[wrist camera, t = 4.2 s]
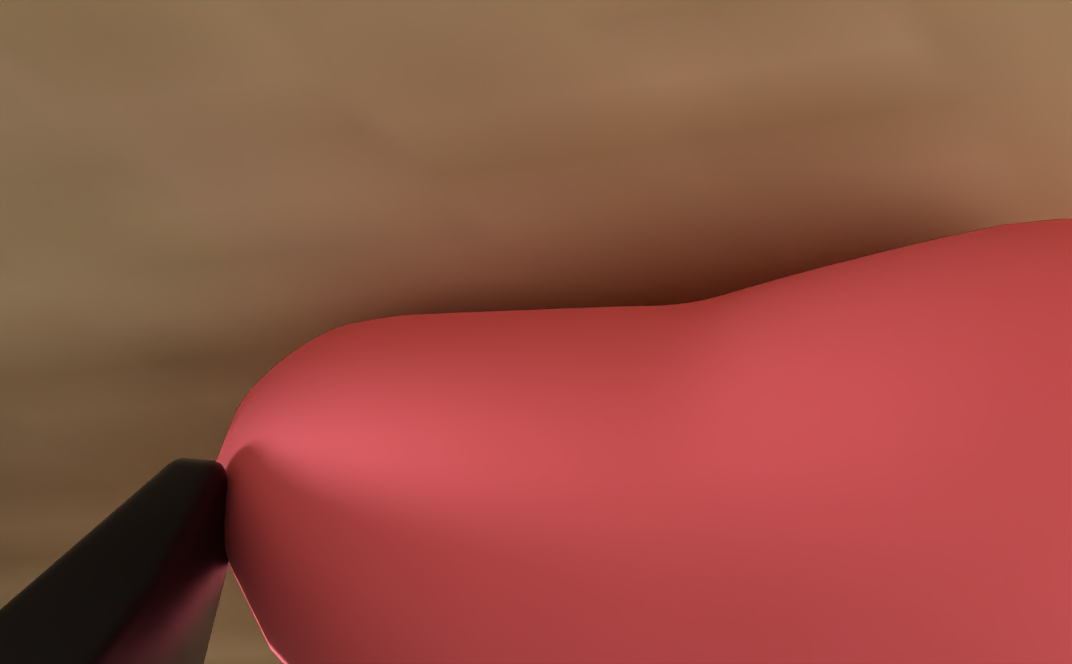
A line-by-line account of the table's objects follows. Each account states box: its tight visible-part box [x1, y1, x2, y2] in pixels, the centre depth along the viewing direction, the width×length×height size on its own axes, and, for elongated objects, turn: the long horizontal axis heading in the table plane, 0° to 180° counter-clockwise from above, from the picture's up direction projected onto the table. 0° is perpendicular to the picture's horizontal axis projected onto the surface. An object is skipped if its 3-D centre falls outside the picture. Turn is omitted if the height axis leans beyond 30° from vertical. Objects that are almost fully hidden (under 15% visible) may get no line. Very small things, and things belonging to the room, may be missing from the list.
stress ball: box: [216, 219, 1072, 664], centre depth 9 cm, size 5×9×6 cm, turn 92°
